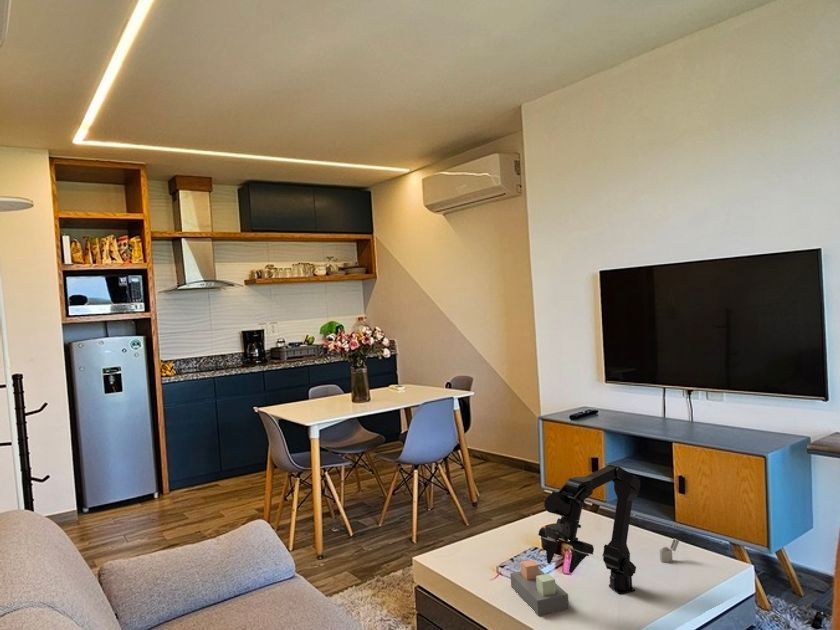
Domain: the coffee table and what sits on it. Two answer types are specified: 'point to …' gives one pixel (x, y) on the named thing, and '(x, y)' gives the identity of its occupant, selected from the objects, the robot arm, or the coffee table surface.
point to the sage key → (545, 584)
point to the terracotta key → (529, 569)
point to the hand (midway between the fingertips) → (559, 568)
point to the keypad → (539, 595)
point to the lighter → (668, 552)
